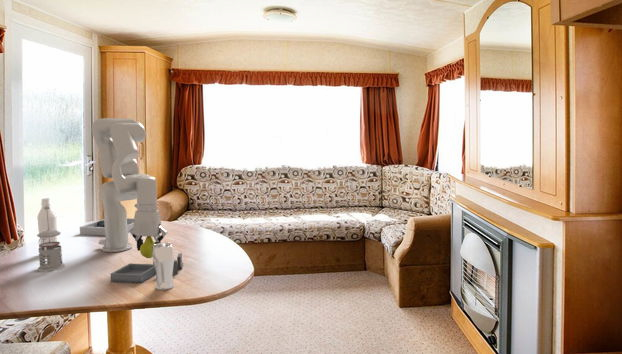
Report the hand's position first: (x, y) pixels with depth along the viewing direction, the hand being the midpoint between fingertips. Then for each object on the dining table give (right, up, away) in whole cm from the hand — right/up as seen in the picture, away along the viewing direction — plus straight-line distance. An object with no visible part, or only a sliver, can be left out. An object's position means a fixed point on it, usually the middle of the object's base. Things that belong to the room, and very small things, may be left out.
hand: (148, 250), depth 171 cm
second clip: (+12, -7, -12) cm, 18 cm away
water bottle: (-50, -5, +16) cm, 53 cm away
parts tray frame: (-43, 0, +62) cm, 76 cm away
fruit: (0, -3, +1) cm, 3 cm away
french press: (-39, -7, -2) cm, 40 cm away
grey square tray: (0, -8, -14) cm, 16 cm away
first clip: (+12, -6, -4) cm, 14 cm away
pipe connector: (-45, 0, +61) cm, 76 cm away
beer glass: (+15, -9, -24) cm, 30 cm away
